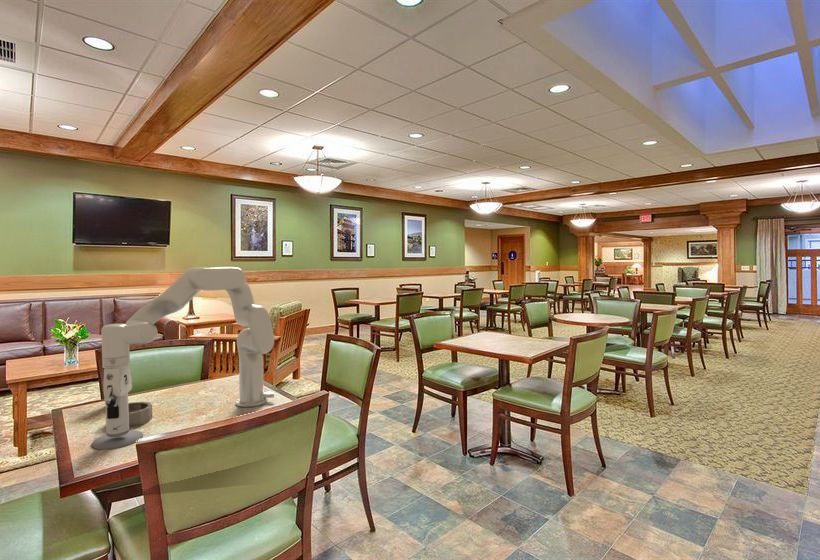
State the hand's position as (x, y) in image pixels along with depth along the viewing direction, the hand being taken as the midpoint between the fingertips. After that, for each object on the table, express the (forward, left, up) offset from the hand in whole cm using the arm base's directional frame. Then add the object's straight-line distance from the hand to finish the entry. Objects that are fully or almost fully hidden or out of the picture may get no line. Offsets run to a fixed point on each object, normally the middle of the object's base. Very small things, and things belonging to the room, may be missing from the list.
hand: (118, 413), depth 142 cm
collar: (+3, -18, -9) cm, 20 cm away
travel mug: (0, 0, -7) cm, 7 cm away
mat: (0, 0, -9) cm, 9 cm away
